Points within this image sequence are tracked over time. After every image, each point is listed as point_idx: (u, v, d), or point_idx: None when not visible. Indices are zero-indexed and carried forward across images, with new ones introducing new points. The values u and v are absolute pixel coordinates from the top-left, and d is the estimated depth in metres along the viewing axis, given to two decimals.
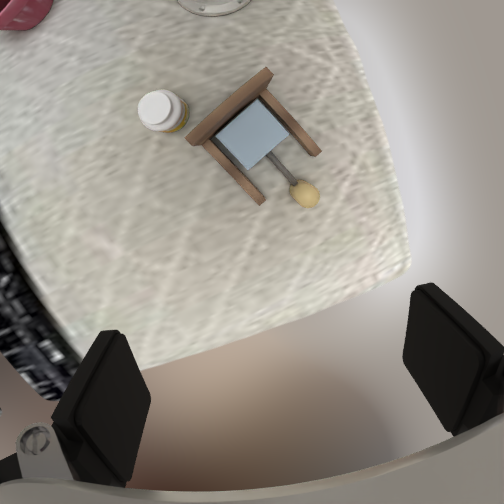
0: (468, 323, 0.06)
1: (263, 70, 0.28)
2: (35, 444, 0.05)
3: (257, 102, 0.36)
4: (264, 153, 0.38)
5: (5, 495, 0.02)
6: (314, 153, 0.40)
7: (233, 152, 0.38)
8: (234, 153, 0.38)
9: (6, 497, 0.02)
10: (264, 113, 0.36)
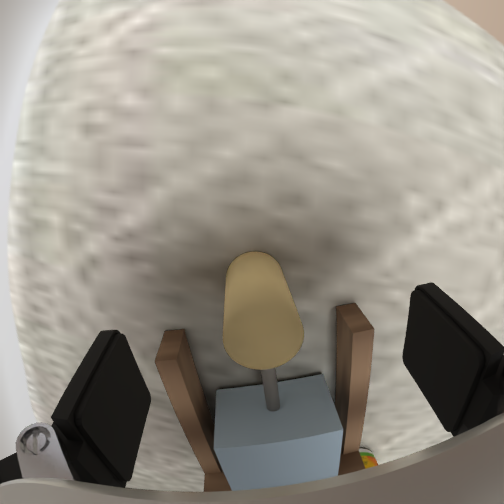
0: (468, 323, 0.06)
1: None
2: (35, 444, 0.05)
3: None
4: (289, 442, 0.14)
5: (5, 495, 0.02)
6: (175, 366, 0.15)
7: (336, 457, 0.15)
8: (336, 455, 0.15)
9: (6, 497, 0.02)
10: (236, 481, 0.16)
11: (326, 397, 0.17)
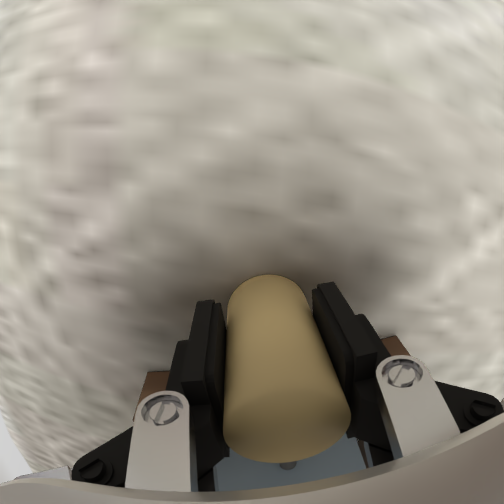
0: (348, 323, 0.07)
1: None
2: (161, 414, 0.06)
3: None
4: None
5: (5, 495, 0.02)
6: None
7: None
8: None
9: (6, 497, 0.02)
10: None
11: (353, 450, 0.12)
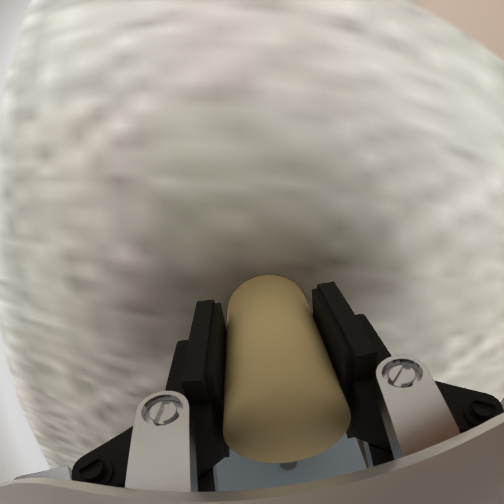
0: (348, 323, 0.07)
1: None
2: (161, 414, 0.06)
3: None
4: None
5: (5, 495, 0.02)
6: None
7: None
8: None
9: (6, 497, 0.02)
10: None
11: (354, 450, 0.12)
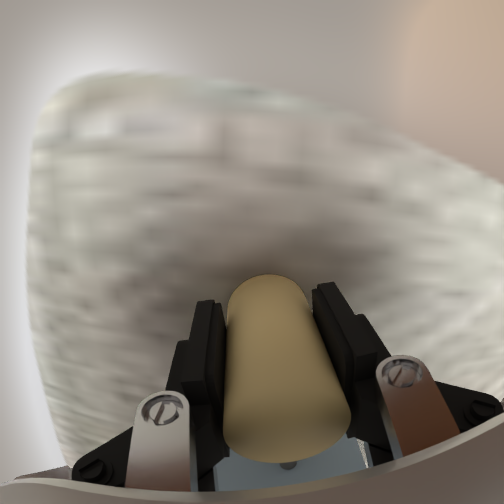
0: (348, 323, 0.07)
1: None
2: (161, 414, 0.06)
3: None
4: None
5: (5, 495, 0.02)
6: None
7: None
8: None
9: (6, 497, 0.02)
10: None
11: (353, 450, 0.12)
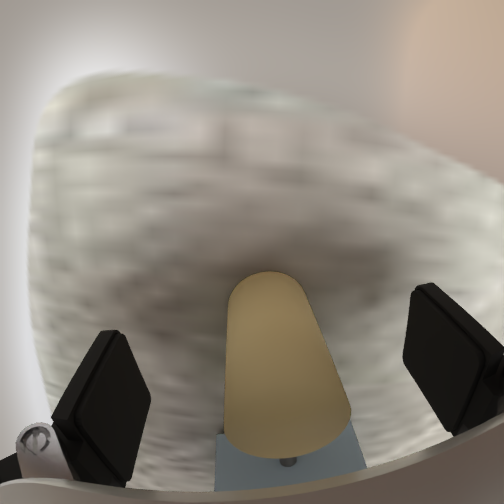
0: (468, 323, 0.06)
1: None
2: (35, 444, 0.05)
3: None
4: None
5: (5, 495, 0.02)
6: None
7: None
8: None
9: (6, 497, 0.02)
10: None
11: (353, 447, 0.12)
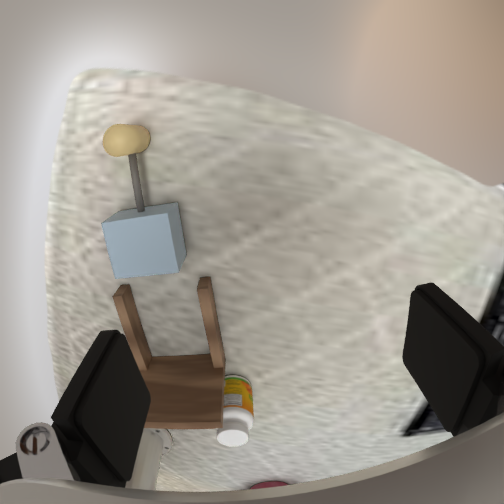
0: (468, 323, 0.06)
1: None
2: (35, 444, 0.05)
3: (116, 275, 0.30)
4: (138, 219, 0.28)
5: (5, 495, 0.02)
6: (121, 299, 0.34)
7: (170, 243, 0.29)
8: (170, 241, 0.29)
9: (6, 497, 0.02)
10: (115, 261, 0.30)
11: (170, 207, 0.31)
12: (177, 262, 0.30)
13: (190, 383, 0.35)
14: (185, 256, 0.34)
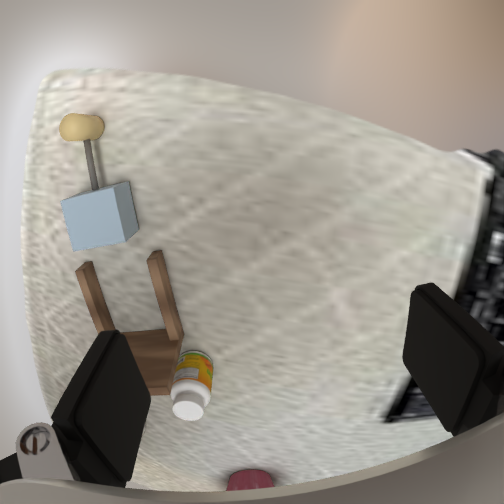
0: (468, 323, 0.06)
1: None
2: (35, 444, 0.05)
3: (74, 248, 0.32)
4: (89, 195, 0.30)
5: (5, 495, 0.02)
6: (82, 273, 0.35)
7: (117, 214, 0.31)
8: (116, 213, 0.31)
9: (6, 497, 0.02)
10: (72, 234, 0.31)
11: (119, 184, 0.32)
12: (124, 232, 0.32)
13: (146, 354, 0.36)
14: (137, 230, 0.36)
